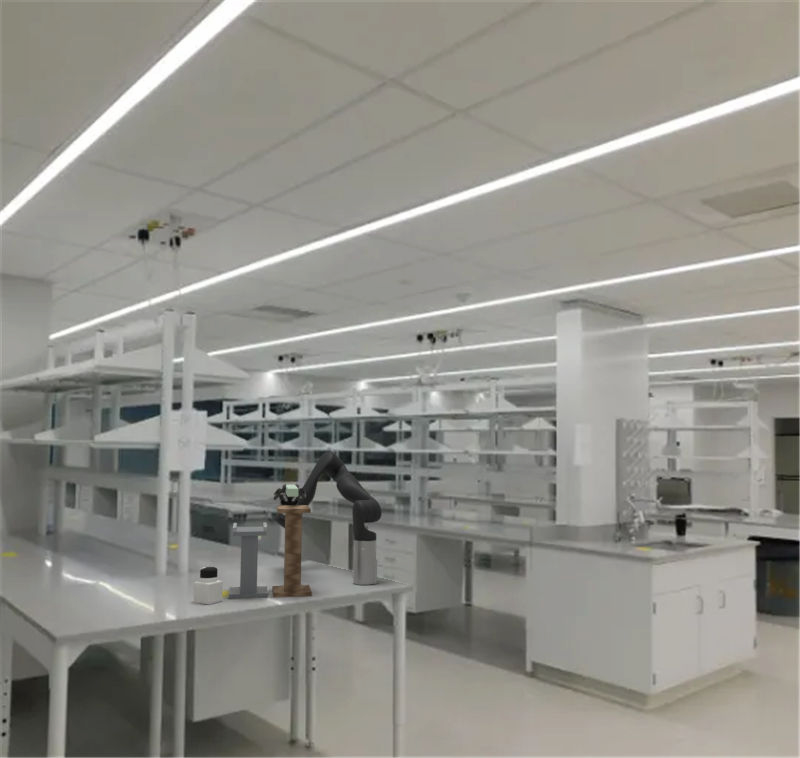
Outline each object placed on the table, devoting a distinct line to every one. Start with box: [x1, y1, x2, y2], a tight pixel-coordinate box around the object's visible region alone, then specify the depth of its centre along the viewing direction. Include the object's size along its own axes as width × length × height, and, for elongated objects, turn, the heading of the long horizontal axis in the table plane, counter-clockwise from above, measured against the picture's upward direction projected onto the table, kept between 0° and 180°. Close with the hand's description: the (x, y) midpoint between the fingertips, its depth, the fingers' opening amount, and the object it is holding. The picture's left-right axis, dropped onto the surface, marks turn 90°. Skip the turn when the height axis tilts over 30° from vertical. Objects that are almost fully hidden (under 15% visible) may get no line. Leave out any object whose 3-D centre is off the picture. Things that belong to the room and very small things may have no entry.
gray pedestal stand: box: [228, 522, 269, 600], centre depth 276 cm, size 14×16×26 cm
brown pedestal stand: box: [271, 504, 313, 598], centre depth 280 cm, size 14×16×32 cm
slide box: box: [286, 484, 298, 497], centre depth 297 cm, size 4×26×3 cm, turn 11°
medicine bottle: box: [193, 566, 223, 606], centre depth 262 cm, size 7×7×12 cm
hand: (290, 486), depth 301 cm, fingers closed on slide box, 4 cm apart
